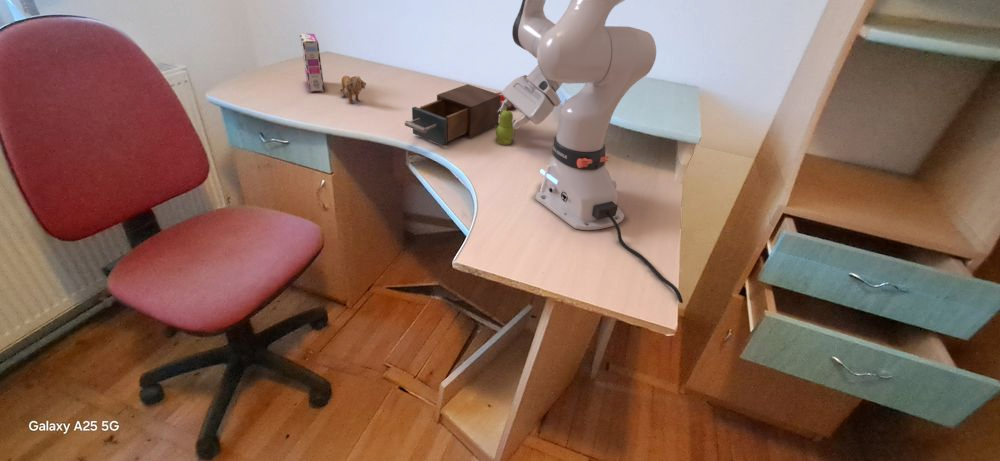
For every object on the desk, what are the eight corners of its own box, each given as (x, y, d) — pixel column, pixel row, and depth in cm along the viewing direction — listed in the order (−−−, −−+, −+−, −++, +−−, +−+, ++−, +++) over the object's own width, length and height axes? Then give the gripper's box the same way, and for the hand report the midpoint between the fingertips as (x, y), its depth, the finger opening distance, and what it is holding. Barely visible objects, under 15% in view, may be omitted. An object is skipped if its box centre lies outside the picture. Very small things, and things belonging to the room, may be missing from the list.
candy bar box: (325, 92, 155) (318, 41, 145) (310, 93, 153) (301, 41, 143) (321, 81, 163) (314, 32, 153) (306, 82, 161) (298, 33, 151)
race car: (479, 101, 160) (479, 89, 158) (488, 97, 164) (489, 86, 161) (509, 111, 154) (510, 100, 152) (518, 107, 158) (519, 96, 155)
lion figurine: (369, 104, 149) (367, 76, 144) (355, 107, 146) (352, 79, 141) (347, 90, 157) (344, 64, 152) (333, 93, 154) (329, 66, 149)
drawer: (430, 152, 123) (430, 125, 118) (398, 139, 128) (397, 112, 123) (473, 132, 136) (474, 107, 131) (443, 120, 141) (443, 96, 136)
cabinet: (470, 138, 134) (471, 106, 129) (436, 125, 140) (436, 94, 134) (498, 124, 145) (500, 94, 139) (466, 112, 150) (467, 84, 145)
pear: (516, 144, 134) (520, 109, 127) (499, 146, 132) (502, 110, 125) (508, 136, 138) (511, 102, 131) (492, 138, 135) (494, 103, 129)
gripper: (518, 66, 134) (485, 100, 136) (552, 90, 120) (515, 128, 122) (529, 80, 138) (497, 113, 141) (564, 105, 124) (528, 141, 126)
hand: (506, 120), depth 131 cm, fingers open, 8 cm apart
